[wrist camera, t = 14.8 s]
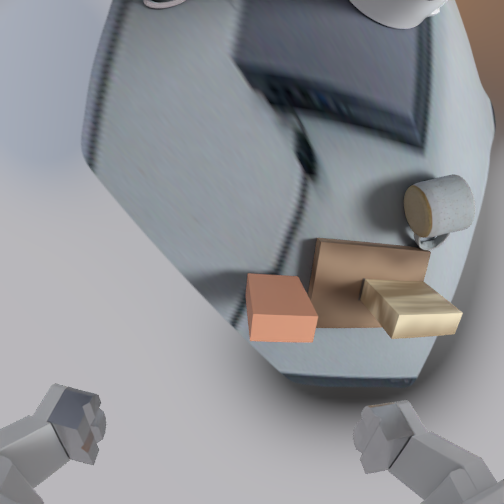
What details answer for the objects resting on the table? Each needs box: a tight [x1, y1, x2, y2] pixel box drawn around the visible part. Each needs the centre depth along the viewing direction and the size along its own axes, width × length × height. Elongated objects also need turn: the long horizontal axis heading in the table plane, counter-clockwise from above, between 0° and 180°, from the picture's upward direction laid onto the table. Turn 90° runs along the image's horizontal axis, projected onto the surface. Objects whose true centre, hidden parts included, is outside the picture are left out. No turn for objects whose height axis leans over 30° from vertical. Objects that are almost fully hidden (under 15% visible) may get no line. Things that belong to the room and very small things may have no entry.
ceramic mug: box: [404, 175, 475, 250], centre depth 36 cm, size 11×8×8 cm
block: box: [246, 273, 318, 342], centre depth 34 cm, size 3×6×10 cm, turn 85°
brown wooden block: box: [308, 238, 462, 339], centre depth 36 cm, size 12×17×12 cm
